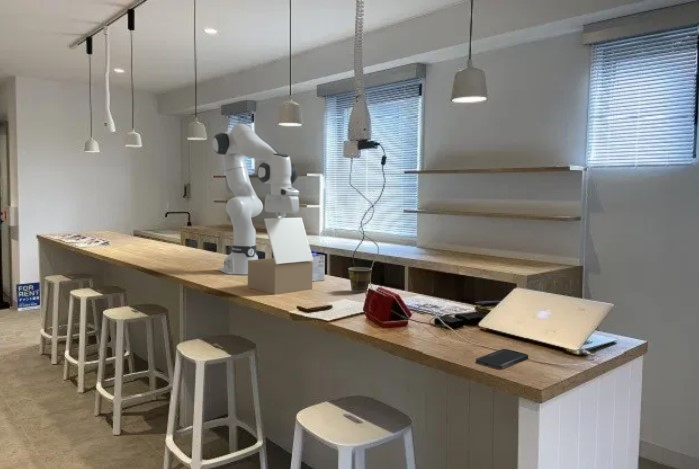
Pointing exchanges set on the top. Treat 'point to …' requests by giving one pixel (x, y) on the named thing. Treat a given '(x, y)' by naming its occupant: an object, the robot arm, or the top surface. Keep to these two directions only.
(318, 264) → the ink cartridge box
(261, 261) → the carton
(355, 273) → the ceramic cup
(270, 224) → the lid flap
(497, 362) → the phone
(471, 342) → the top surface
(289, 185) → the robot arm
